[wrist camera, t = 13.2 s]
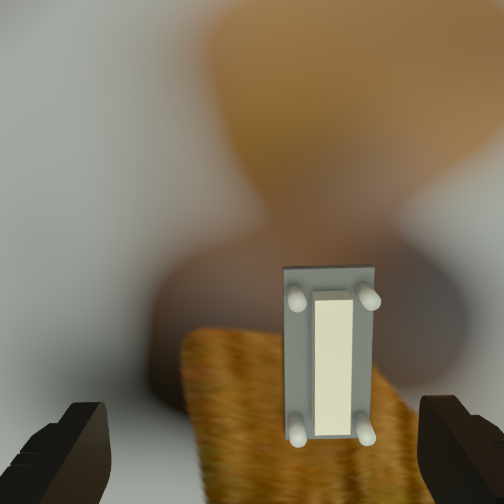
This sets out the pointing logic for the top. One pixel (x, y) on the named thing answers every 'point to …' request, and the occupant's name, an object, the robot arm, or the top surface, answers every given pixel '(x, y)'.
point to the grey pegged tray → (299, 346)
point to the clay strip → (331, 362)
